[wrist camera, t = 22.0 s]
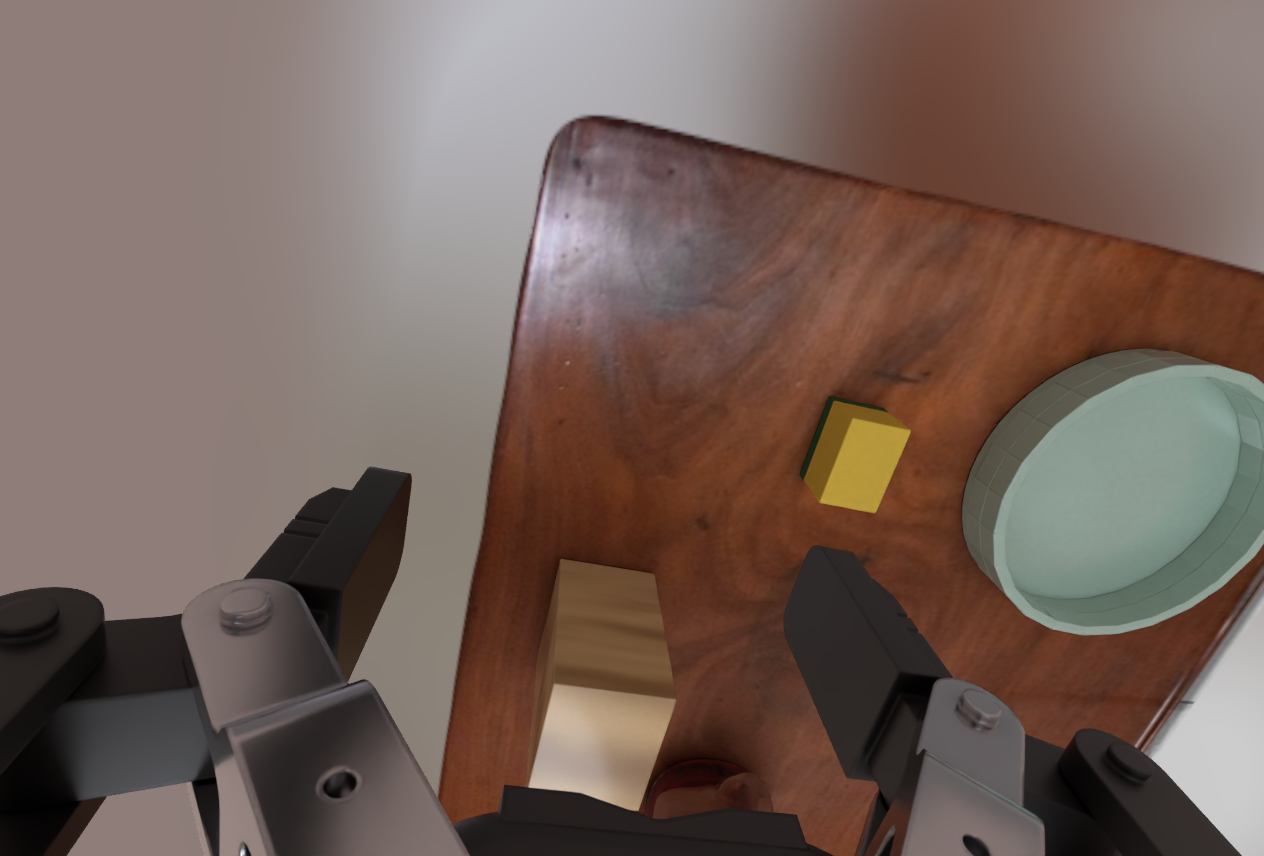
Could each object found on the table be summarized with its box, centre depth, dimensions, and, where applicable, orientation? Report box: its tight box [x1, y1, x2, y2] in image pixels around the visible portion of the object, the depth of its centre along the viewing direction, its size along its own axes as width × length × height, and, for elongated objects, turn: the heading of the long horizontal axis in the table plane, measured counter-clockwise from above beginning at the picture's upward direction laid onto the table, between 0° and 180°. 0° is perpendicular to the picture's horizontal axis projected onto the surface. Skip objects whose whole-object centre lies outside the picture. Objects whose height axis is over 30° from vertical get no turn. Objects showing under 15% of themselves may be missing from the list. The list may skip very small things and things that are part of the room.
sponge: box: [800, 397, 911, 513], centre depth 42 cm, size 6×4×4 cm, turn 166°
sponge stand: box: [526, 559, 677, 811], centre depth 42 cm, size 9×7×12 cm
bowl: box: [962, 348, 1264, 635], centre depth 44 cm, size 21×21×4 cm
